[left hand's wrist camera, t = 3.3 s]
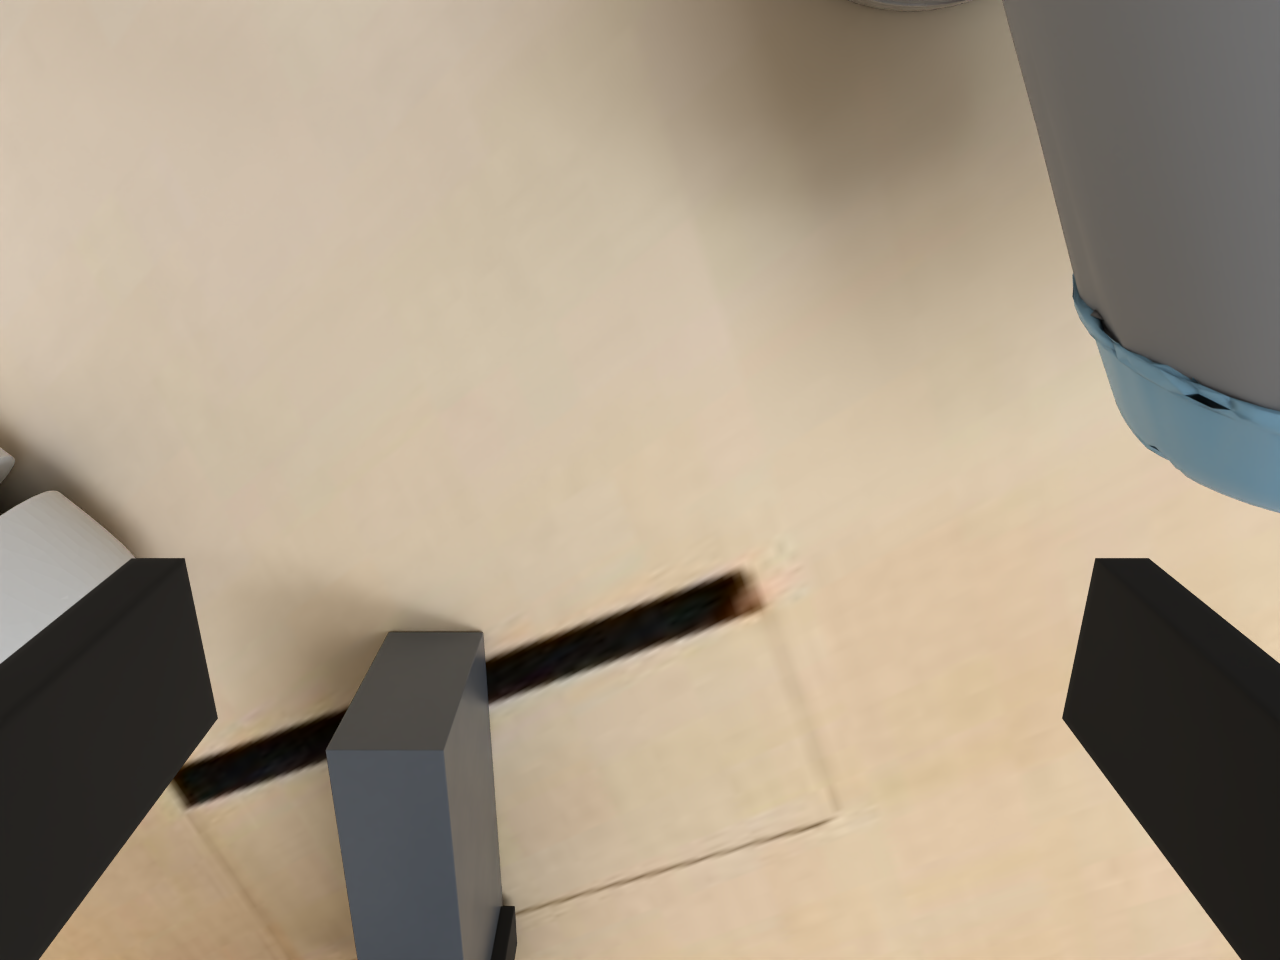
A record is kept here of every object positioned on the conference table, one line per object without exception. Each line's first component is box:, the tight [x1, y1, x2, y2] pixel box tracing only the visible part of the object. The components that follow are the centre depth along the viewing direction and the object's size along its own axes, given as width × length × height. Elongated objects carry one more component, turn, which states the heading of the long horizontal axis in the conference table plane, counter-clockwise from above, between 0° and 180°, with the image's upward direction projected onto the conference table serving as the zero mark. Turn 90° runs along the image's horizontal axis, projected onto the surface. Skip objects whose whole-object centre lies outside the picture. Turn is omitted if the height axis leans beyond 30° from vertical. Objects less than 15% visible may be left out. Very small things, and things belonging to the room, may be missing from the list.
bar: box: [326, 632, 503, 960], centre depth 42 cm, size 22×5×9 cm, turn 0°
